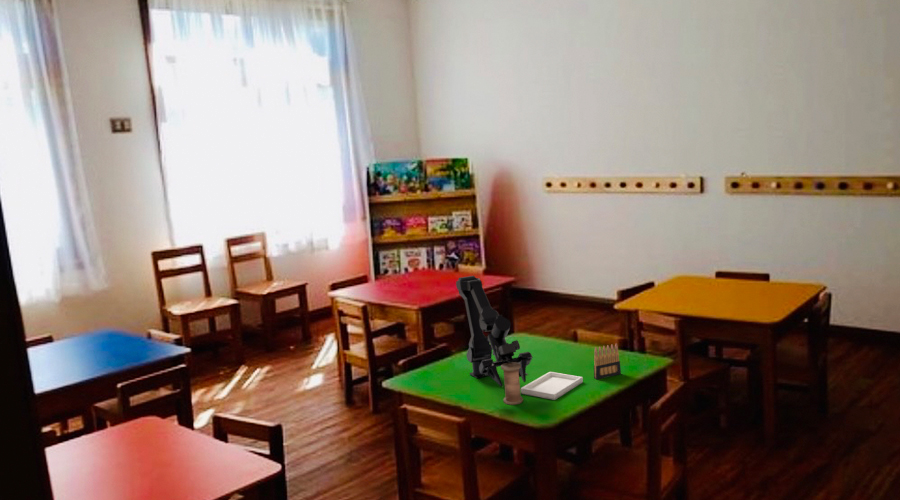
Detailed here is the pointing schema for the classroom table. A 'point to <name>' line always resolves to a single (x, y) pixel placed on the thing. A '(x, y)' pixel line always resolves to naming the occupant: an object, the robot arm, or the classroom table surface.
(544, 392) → the white rectangular tray
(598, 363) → the ammunition clip
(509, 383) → the brown wooden spool
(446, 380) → the classroom table surface
